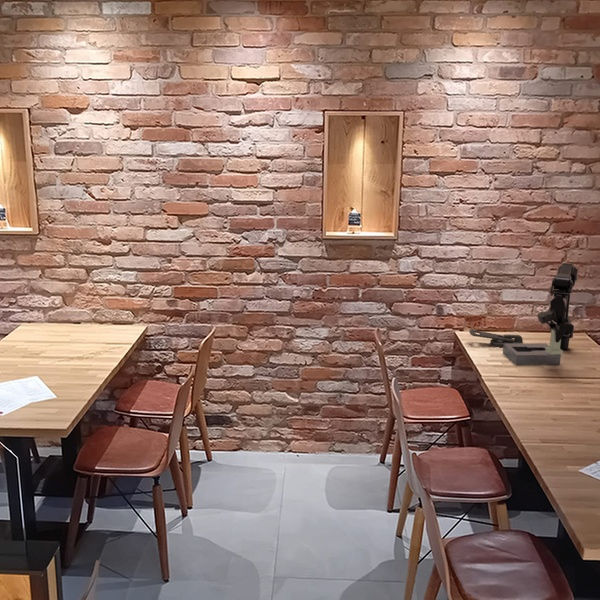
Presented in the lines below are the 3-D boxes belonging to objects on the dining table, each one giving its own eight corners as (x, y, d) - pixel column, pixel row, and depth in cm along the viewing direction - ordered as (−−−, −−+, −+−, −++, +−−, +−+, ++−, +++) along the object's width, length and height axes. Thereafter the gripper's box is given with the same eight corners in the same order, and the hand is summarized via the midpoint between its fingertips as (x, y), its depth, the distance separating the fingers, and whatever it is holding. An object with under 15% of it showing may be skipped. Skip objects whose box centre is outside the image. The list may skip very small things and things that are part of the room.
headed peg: (557, 350, 312) (560, 328, 309) (562, 354, 306) (565, 331, 304) (545, 350, 311) (547, 328, 309) (550, 354, 306) (553, 331, 303)
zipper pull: (468, 328, 345) (521, 330, 344) (467, 341, 347) (519, 343, 346) (471, 334, 337) (525, 335, 336) (470, 347, 338) (524, 349, 337)
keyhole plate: (544, 353, 332) (546, 343, 331) (559, 364, 317) (561, 354, 316) (502, 353, 331) (503, 343, 329) (515, 365, 315) (516, 355, 314)
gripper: (532, 300, 312) (528, 334, 316) (550, 311, 294) (546, 348, 298) (557, 300, 313) (553, 334, 317) (576, 311, 295) (572, 348, 299)
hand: (555, 341), depth 308 cm, fingers closed on headed peg, 3 cm apart
